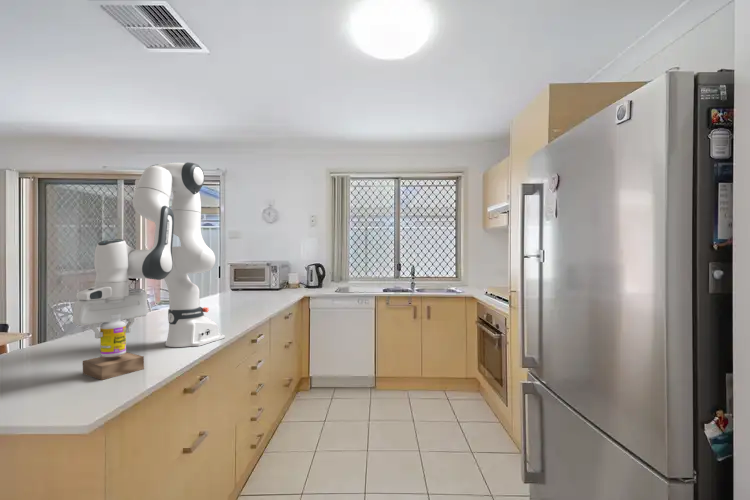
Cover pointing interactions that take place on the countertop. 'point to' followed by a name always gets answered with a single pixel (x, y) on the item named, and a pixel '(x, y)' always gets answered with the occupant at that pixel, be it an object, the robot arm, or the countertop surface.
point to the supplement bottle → (113, 337)
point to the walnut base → (113, 365)
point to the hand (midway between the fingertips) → (113, 335)
